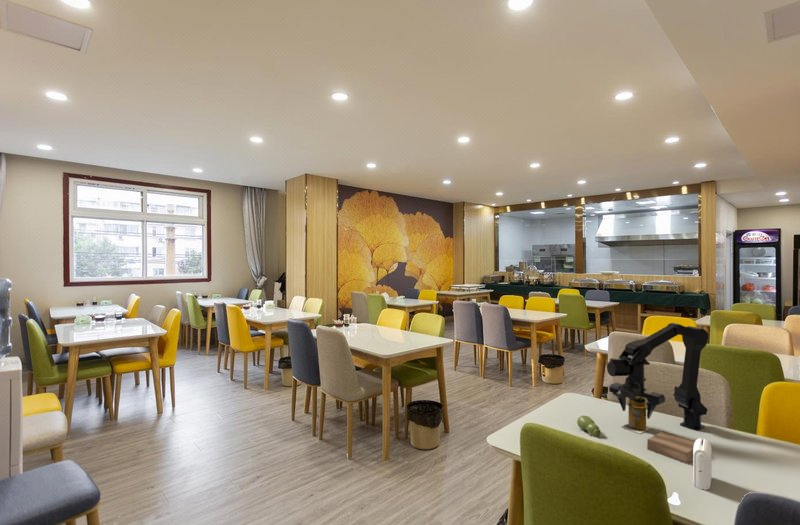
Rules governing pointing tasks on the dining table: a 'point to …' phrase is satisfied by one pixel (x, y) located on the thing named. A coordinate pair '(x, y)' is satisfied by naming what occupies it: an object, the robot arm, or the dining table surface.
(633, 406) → the condiment
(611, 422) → the dining table surface
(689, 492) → the dining table surface
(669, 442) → the brown flat box
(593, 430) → the pear
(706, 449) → the photo printer
